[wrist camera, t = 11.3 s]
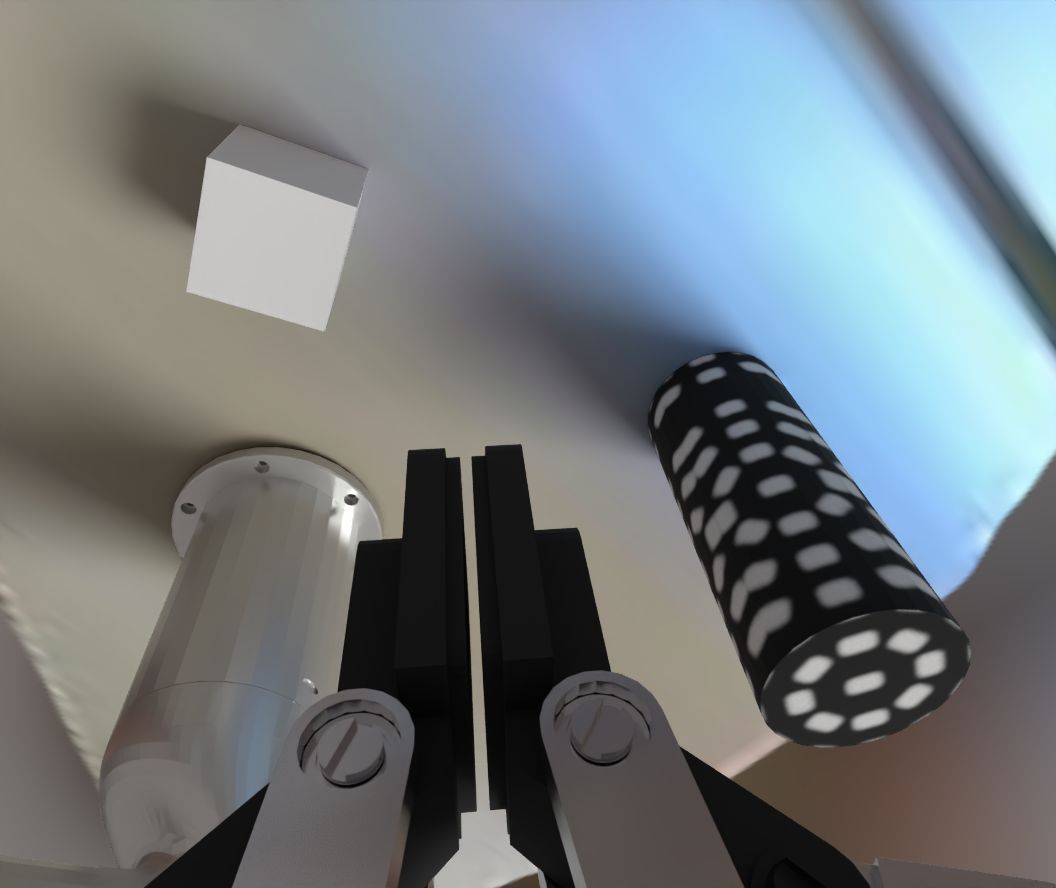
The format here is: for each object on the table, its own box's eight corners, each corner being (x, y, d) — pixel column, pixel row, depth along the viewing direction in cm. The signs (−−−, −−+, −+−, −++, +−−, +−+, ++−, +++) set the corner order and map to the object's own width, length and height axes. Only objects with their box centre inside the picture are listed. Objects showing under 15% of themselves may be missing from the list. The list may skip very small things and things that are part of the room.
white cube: (219, 243, 38) (185, 291, 33) (240, 123, 35) (205, 156, 30) (340, 281, 40) (324, 332, 35) (369, 169, 37) (357, 207, 32)
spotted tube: (665, 484, 49) (777, 768, 33) (631, 381, 44) (742, 651, 28) (792, 441, 48) (972, 712, 32) (770, 331, 43) (969, 581, 27)
